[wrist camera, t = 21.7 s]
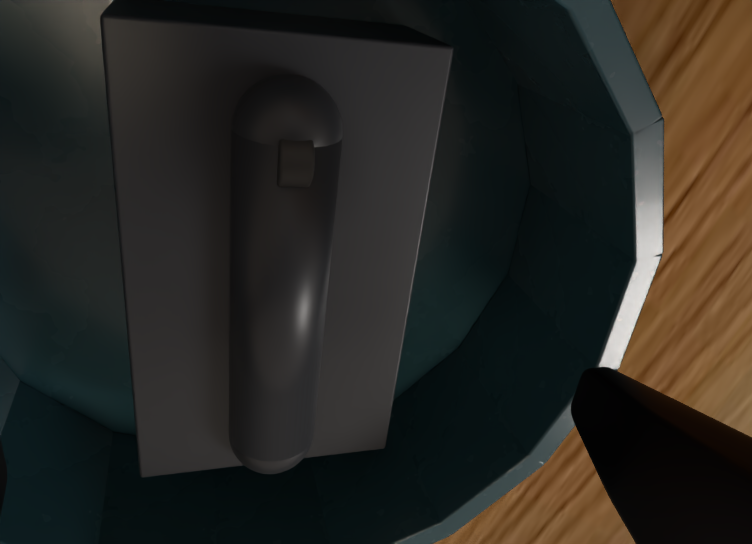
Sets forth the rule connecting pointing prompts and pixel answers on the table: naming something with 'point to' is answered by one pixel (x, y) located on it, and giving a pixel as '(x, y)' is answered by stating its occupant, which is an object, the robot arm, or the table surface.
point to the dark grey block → (266, 225)
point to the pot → (427, 305)
